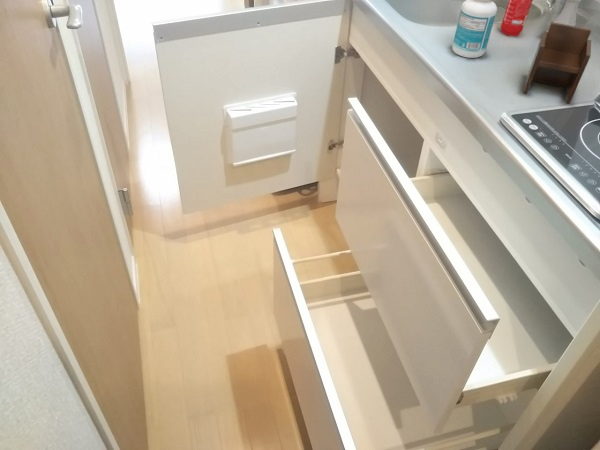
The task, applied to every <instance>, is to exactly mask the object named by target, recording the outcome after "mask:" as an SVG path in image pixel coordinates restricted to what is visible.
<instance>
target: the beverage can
mask: <svg viewBox="0 0 600 450" xmlns="http://www.w3.org/2000/svg"><path fill="white" fill-rule="evenodd" d="M533 1H534V0H508V2H507V5H506V8H505V11H504V14H503V17H502V21H501V24H500V32H501V34H503V35H505V36H508V37H518V36H519V35H520V34H521V33H522V32H523V30H524V27H525V24H526V21H527V18H528V15H529V13H530V9H531V6H532V4H533Z"/></svg>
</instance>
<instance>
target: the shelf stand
mask: <svg viewBox="0 0 600 450" xmlns="http://www.w3.org/2000/svg"><path fill="white" fill-rule="evenodd" d="M548 29H549V30H548ZM548 29H547V30H548V32H547V31H545V30H544V31H543V32H542V34H541V37H540V40H539V43H538V46H537V48H536V50H535V53H534V57H533V59H532V62H531V64H530V66H529V70H528V73H527V76H526V79H525V83H524V87H523V91H522V94H524V95H527V94H528V93H529V90H530V87H531V84H532V82H533V81H535V82H540V83H545V84H550V85H553V86H558V87H562V88H566V95H565V104H568V105H570V104H571V102H572V99H573V97H574V94H575V93H576V90H577V88H578V86H579V84H580V81H581V79H582V77H583V74H584V72H585V70H586V67H587V65H588V63H589V61H590V58H591V57H592V56H591V55H592V40H591V39H589V37H590V35H591V33H592V29H591V28H586V27H580V26H577V25H575V26H570V25H565V24H560V23H554V21H551V22H550V25H549V28H548Z"/></svg>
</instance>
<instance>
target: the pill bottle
mask: <svg viewBox="0 0 600 450" xmlns="http://www.w3.org/2000/svg"><path fill="white" fill-rule="evenodd" d="M497 11H498V6H497V5H496V3H495V2H494V1H493V0H465V1H463V2H462V5H461V8H460V12H459V16H458V21H457V25H456V29H455V33H454V37H453V42H452V47H451V49H452V51H453V53H454V54H456V55H458V56H459V57H463V58H467V59H468V58H469V59H477V58H481V57H482V56H484V55H485V53H486V50H487V47H488V43H489V40H490V36H491V32H492V30H493V25H494V23H495V22H494V21H495V19H496V16H497Z"/></svg>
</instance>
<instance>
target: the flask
mask: <svg viewBox="0 0 600 450" xmlns="http://www.w3.org/2000/svg"><path fill="white" fill-rule="evenodd" d="M581 1H582V0H566V2H565V4H564V7H563V9H562V10H561V12H560V13H559V15H558V16H557V17H556V19H555V20H554V21H553V22H554V23H560V24H565V25H570V26H577V25H576V22H577V12H578V7H579V5H580V2H581ZM548 30H549V28H548V29H547V30H546V32H548Z"/></svg>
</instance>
